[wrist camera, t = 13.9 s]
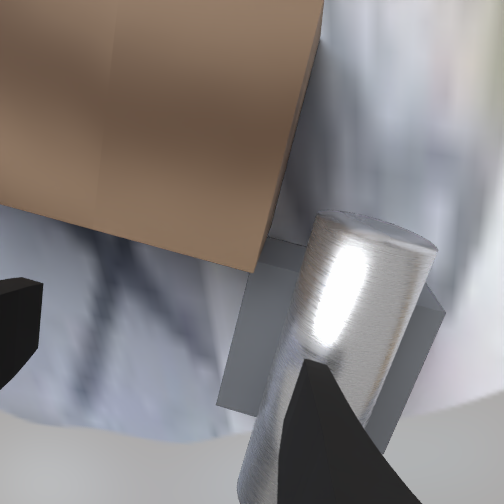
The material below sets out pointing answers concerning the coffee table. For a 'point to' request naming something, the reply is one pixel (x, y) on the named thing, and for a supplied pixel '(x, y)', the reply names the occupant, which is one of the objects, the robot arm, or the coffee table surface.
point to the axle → (338, 327)
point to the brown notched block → (155, 116)
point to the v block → (270, 328)
